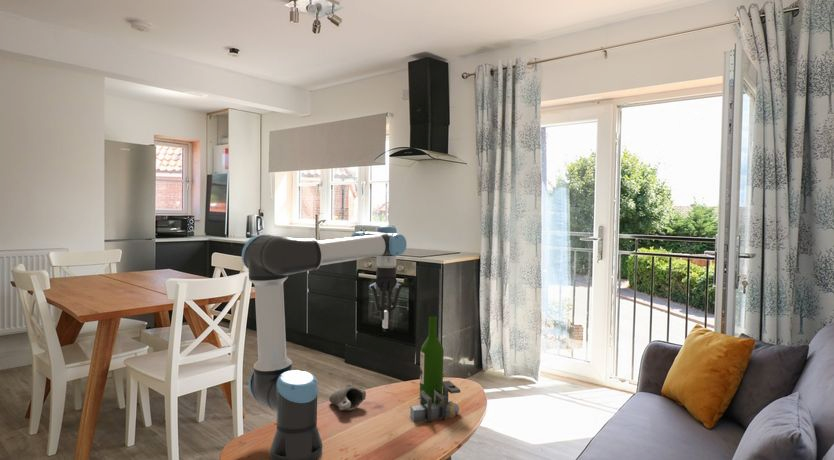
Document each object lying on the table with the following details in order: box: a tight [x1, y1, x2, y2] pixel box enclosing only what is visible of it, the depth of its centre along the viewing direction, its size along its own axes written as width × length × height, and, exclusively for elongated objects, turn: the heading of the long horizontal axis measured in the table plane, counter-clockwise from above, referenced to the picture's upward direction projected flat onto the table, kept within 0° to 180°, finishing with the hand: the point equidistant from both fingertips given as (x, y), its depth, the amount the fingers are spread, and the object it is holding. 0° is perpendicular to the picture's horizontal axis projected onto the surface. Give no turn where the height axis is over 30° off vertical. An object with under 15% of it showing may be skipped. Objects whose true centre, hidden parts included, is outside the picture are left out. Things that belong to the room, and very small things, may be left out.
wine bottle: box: [419, 315, 444, 404], centre depth 188 cm, size 9×9×32 cm
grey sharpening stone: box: [409, 400, 460, 423], centre depth 173 cm, size 18×4×4 cm, turn 110°
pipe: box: [328, 382, 367, 412], centre depth 180 cm, size 16×9×15 cm
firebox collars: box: [419, 380, 461, 424], centre depth 175 cm, size 12×10×10 cm
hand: (385, 327), depth 186 cm, fingers closed
